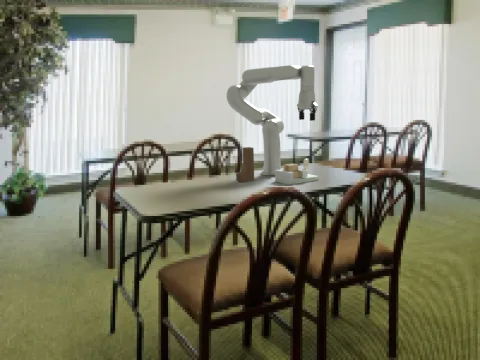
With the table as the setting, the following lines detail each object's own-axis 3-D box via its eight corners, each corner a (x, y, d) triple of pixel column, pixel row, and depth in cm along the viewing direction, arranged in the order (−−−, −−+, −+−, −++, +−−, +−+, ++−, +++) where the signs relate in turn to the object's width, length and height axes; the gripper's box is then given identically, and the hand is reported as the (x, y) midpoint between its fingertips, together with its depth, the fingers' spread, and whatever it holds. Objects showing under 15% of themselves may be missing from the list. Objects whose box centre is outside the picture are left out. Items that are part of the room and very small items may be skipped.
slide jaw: (288, 175, 265) (288, 159, 264) (300, 173, 270) (300, 157, 268) (302, 178, 255) (302, 161, 254) (315, 176, 260) (315, 159, 258)
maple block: (283, 177, 259) (283, 164, 258) (292, 176, 262) (292, 163, 261) (289, 179, 255) (289, 165, 254) (298, 177, 258) (298, 164, 257)
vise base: (275, 181, 261) (275, 170, 260) (304, 176, 271) (304, 166, 270) (289, 184, 251) (289, 173, 250) (318, 179, 261) (318, 168, 260)
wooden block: (240, 182, 260) (239, 149, 257) (236, 181, 264) (235, 148, 260) (254, 180, 264) (253, 147, 261) (250, 179, 268) (249, 146, 265)
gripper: (292, 88, 273) (292, 119, 276) (311, 88, 258) (311, 121, 261) (303, 88, 277) (303, 119, 280) (322, 88, 262) (322, 120, 265)
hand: (306, 120), depth 271 cm, fingers open, 9 cm apart
